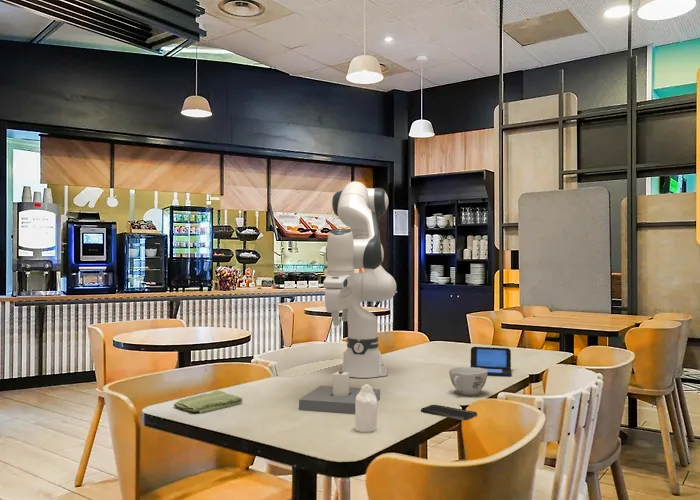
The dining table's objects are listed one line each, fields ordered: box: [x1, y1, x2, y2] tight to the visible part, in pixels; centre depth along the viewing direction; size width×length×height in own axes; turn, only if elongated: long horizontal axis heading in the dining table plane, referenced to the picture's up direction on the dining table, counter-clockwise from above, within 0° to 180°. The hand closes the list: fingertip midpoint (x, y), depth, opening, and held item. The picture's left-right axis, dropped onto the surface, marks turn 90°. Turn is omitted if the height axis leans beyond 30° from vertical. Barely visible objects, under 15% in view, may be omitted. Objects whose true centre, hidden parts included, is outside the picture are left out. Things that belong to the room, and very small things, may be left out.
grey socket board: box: [298, 385, 381, 415], centre depth 185 cm, size 20×20×3 cm
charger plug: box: [332, 371, 350, 397], centre depth 185 cm, size 4×4×10 cm
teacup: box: [448, 366, 488, 396], centre depth 199 cm, size 15×12×8 cm
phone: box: [420, 404, 478, 421], centre depth 175 cm, size 8×1×15 cm
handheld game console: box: [469, 346, 512, 378], centre depth 236 cm, size 16×13×9 cm
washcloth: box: [173, 390, 243, 415], centre depth 183 cm, size 13×18×3 cm
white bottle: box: [354, 383, 378, 433], centre depth 159 cm, size 6×12×6 cm
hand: (340, 323), depth 193 cm, fingers open, 8 cm apart
